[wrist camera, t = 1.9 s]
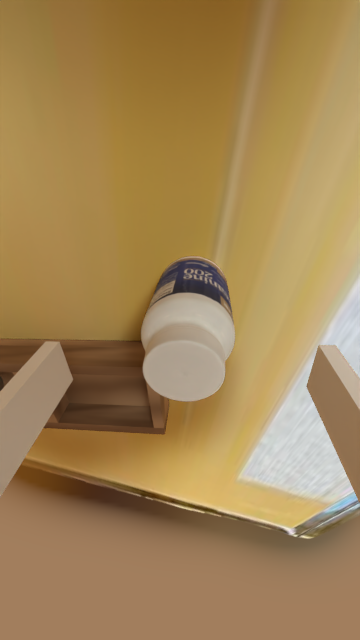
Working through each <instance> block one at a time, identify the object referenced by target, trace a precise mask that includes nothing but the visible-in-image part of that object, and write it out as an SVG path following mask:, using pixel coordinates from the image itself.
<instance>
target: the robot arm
mask: <svg viewBox="0 0 360 640" xmlns="http://www.w3.org/2000/svg"><path fill="white" fill-rule="evenodd" d="M72 381H73V377H72V375H71V372H70V369H69V367H68V364H67V361H66V358H65V356H64V353H63V350H62V348H61V345H60V342H51V341H46V342H45V343H44V344H43V345H42V346H41V347H40V348H39V349H38V350H37V352H36V353H35V354H34V355H33V356H32V357H31V358H30V359H29V360H28V361H27V363H26V364H25V365H24V366H23V367H22V368H21V369H20V370H19V371H18V372H17V373H16V375H15V376H14V377H13V378H12V379H11V380H10V381H9V382H8V383H7V384H6V386H5V387H4V388H3V389H2V390H1V391H0V497H1V495H2V494H3V492H4V490H5V489H6V487H7V485H8V484H9V482H10V481H11V479H12V478H13V476H14V474H15V473H16V471H17V469H18V468H19V466H20V465H21V463H22V461H23V460H24V458H25V457H26V455H27V453H28V452H29V450H30V448H31V447H32V445H33V444H34V442H35V440H36V439H37V437H38V436H39V434H40V432H41V431H42V429H43V428H44V426H45V424H46V423H47V421H48V419H49V418H50V416H51V415H52V413H53V411H54V410H55V408H56V407H57V405H58V403H59V402H60V400H61V398H62V397H63V395H64V394H65V392H66V390H67V389H68V387H69V386H70V384H71V382H72ZM307 388H308V391H309V393H310V395H311V397H312V399H313V402H314V404H315V406H316V408H317V410H318V413H319V415H320V417H321V419H322V421H323V423H324V426H325V428H326V430H327V432H328V434H329V437H330V439H331V441H332V443H333V445H334V448H335V450H336V452H337V454H338V456H339V459H340V461H341V463H342V465H343V467H344V470H345V472H346V474H347V476H348V478H349V480H350V483H351V485H352V487H353V489H354V491H355V494H356V496H357V498H358V500H359V502H360V378H359V377H358V376H357V374H356V373H355V371H354V370H353V369H352V367H351V366H350V364H349V363H348V362H347V360H346V359H345V358H344V356H343V355H342V353H341V352H340V351H339V349H338V348H337V346H336V345H319V346H318V349H317V353H316V356H315V360H314V363H313V366H312V370H311V373H310V376H309V380H308V383H307Z"/></svg>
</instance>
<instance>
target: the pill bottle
mask: <svg viewBox="0 0 360 640" xmlns="http://www.w3.org/2000/svg"><path fill="white" fill-rule="evenodd" d="M141 340H142V344H143V347H144V349H145V351H146V352H145V357H144V362H143V375H144V378H145V380H146V382H147V383H148V385H149V386H150V387H151V388H152V389H153V390H154V391H155V392H157V393H158V394H160V395H162V396H164V397H166V398H169V399H172V400H177V401H185V402H189V401H197V400H201V399H204V398H207V397H209V396H211V395H212V394H214V393H215V392H216V391H218V390H219V388H220V387H221V385H222V384H223V381H224V378H225V361H226V360H227V358H228V357H229V356H230V354H231V352H232V350H233V347H234V342H235V329H234V322H233V316H232V309H231V303H230V297H229V291H228V286H227V281H226V278H225V275H224V273H223V272H222V270H221V269H220V268H219V267H218V266H217V265H216V264H215V263H213V262H212V261H210V260H208V259H205V258H203V257H199V256H188V257H183V258H180V259H178V260H176V261H174V262H172V263H171V264H170V265H169V266H168V267H167V268H166V269H165V271H164V272H163V274H162V276H161V278H160V280H159V283H158V285H157V287H156V290H155V293H154V295H153V297H152V300H151V302H150V305H149V307H148V310H147V312H146V315H145V317H144V320H143V324H142V328H141Z"/></svg>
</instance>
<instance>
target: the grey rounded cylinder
mask: <svg viewBox="0 0 360 640" xmlns="http://www.w3.org/2000/svg"><path fill="white" fill-rule="evenodd" d="M3 388H4V382H3V380H2V378H1V377H0V391H1V390H2V389H3Z"/></svg>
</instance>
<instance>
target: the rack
mask: <svg viewBox="0 0 360 640" xmlns="http://www.w3.org/2000/svg"><path fill="white" fill-rule="evenodd" d="M46 341H51V342H60V345H61V348H62V350H63V353H64V356H65V358H66V361H67V364H68V367H69V369H70V372H71V375H72V377H73V381H72V382H71V384H70V386H69V387H68V389H67V390H66V392H65V394H64V395H63V397H62V398H61V400H60V402H59V403H58V405H57V407H56V408H55V410H54V411H53V413H52V415H51V416H50V418H49V419H48V421H47V423H46V424H45V426H44V428H57V429H76V430H94V431H112V432H130V433H149V434H165V430H166V423H167V417H168V410H169V399H168V398H166V397H164V396H162V395H160V394H158V393H157V392H155V391H154V390H153V389H152V388H151V387H150V386H149V385H148V383H147V382H146V380H145V378H144V375H143V362H144V357H145V352H146V351H145V349H144V347H143V344H142V341H102V340H39V339H0V377H1V378H2V380H3V382H4V387H5V386H6V384H7V383H8V382H9V381H10V380H11V379H12V378H13V377H14V376H15V375H16V373H17V372H18V371H19V370H20V369H21V368H22V367H23V366H24V365H25V364H26V363H27V361H28V360H29V359H30V358H31V357H32V356H33V355H34V354H35V353H36V352H37V350H38V349H39V348H40V347H41V346H42V345H43V344H44V343H45V342H46Z"/></svg>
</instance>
